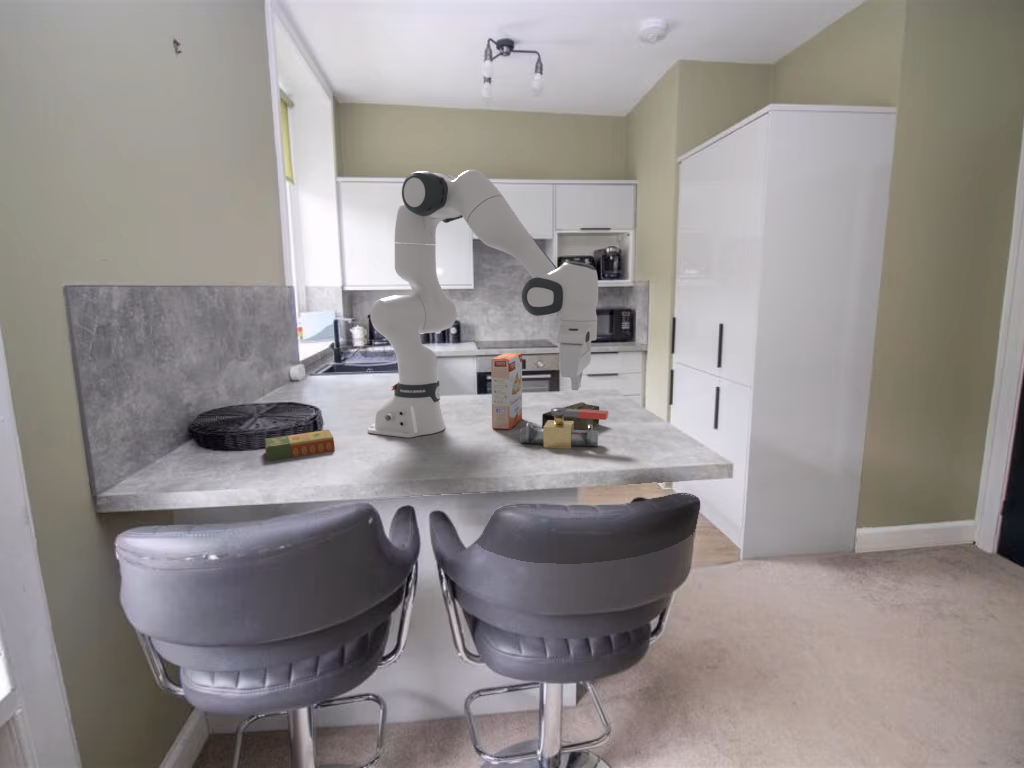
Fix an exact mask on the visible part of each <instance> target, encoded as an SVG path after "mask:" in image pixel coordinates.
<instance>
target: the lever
mask: <svg viewBox="0 0 1024 768" xmlns="http://www.w3.org/2000/svg"><path fill="white" fill-rule="evenodd" d="M550 411H551V415H552V416H557V417H561V416H567V417H578V418H586V419H599V421H600V420H602V421H607V419H608V418H609V410H601V409H599V410H587V409H581V410H579V409H566V408H563V407H553V408H551V409H550Z"/></svg>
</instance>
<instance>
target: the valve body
mask: <svg viewBox="0 0 1024 768" xmlns="http://www.w3.org/2000/svg"><path fill="white" fill-rule="evenodd" d="M593 428H594V427H593V425H591V424H588V428H587V430H574V421H564V416H561V417H557V416H554V420H548V421H547V422H546V424H545V425H544V427H543V429H542V428H539V427H536V428H535V427H533V422H532V421H526V424H525V427H521V428H520V432H519V442H520V443H522V444H537V445H538V444H540V445H543V448H545V449H560V450H562V449H564V450H571V449H572V447H573V446H578V447H598V446H599V430H594V429H593Z"/></svg>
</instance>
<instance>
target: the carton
mask: <svg viewBox="0 0 1024 768" xmlns="http://www.w3.org/2000/svg"><path fill="white" fill-rule="evenodd" d="M333 436H334V435H333V434H332V432H331V431H330V429H326V430H325V429H323V430H318V431H317V430H316V431H311V432H304V433H297V434H290V435H283V436H276V437H275V436H274V437H268V438H266V437H265V438H264V449H265V456H266V460H267V462H271V461H277V460H283V459H289V458H290V459H291V458H296V457H303V456H310V455H317V454H322V453H330V452H336V451H335V450H336V449H335V440H334V439H335V438H334V437H333Z"/></svg>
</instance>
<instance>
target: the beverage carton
mask: <svg viewBox="0 0 1024 768" xmlns="http://www.w3.org/2000/svg"><path fill="white" fill-rule="evenodd" d="M562 408H566V409H579V410H581V409H587V410H600V406H598V405H595V404H588V403H586V402H581V401H580V402H578V403H574V404H571V405H567V406H564V407H562ZM541 417H542V420H541V421H542V423H541V425H542V426H541V427H542V429H543V427H544V425H545V424H546V422H547V421H548V420H554V416H552V415H551V410H550V411H547V412H545V413H543V414H542V416H541ZM564 421H574V430H586V429H587V428H588V424H591V425H593V426H594V427H595V425H596V426H598V425H599V424H600V419H586V418H578V417H567V416H564ZM597 424H598V425H597Z"/></svg>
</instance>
